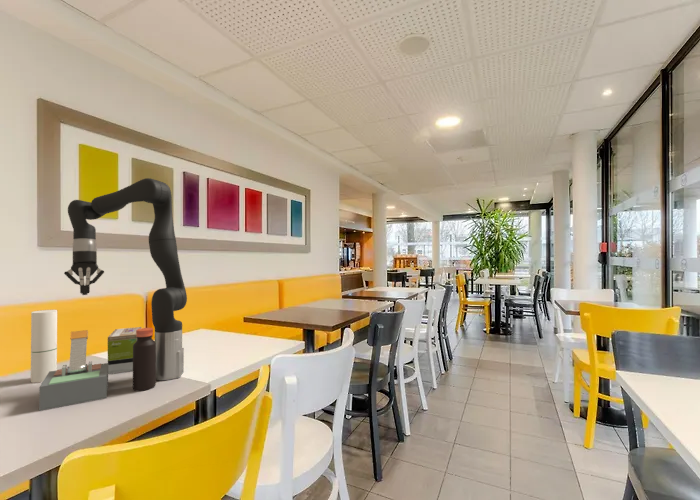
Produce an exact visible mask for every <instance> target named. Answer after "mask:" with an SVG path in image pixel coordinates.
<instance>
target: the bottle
mask: <svg viewBox="0 0 700 500" xmlns="http://www.w3.org/2000/svg"><path fill="white" fill-rule="evenodd" d="M153 331H154V328H153V327H141V329H137V330H136V338H137V341H136V342H135V343H134V345H133V371H132V390H134V391H135V392H144V391H148V390H151V389H153V388H154V387H156V385H157V383H156V381H157V380H156V342H155V339H153V338H152V337H153V335H154V334H153V333H154V332H153Z"/></svg>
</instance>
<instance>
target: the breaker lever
mask: <svg viewBox="0 0 700 500" xmlns="http://www.w3.org/2000/svg"><path fill="white" fill-rule="evenodd" d="M88 338H89V331H88V329H85V330H75V331H71V332H70V342H71V343H70V353H69V365H68V366H67V374H74V373H80V372H87V365H88V364H87V361H86V360H87V348H88V347H87V344H88Z"/></svg>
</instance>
